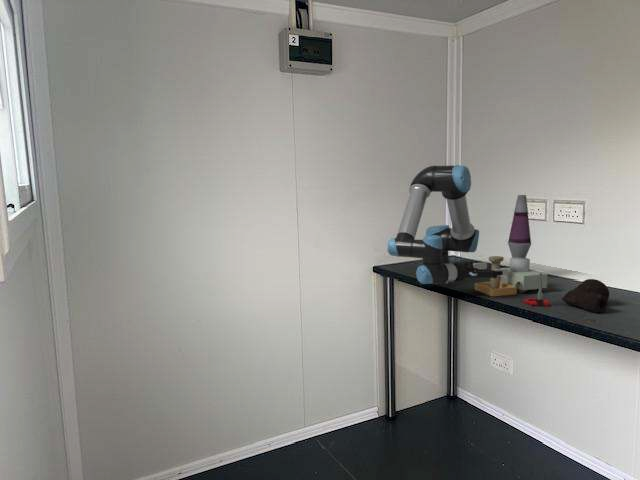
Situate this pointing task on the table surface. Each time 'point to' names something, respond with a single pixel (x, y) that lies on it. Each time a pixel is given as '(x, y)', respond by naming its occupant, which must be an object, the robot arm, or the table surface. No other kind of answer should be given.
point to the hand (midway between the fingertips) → (496, 268)
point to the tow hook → (538, 300)
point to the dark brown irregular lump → (589, 296)
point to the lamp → (520, 229)
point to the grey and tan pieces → (515, 279)
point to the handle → (495, 265)
